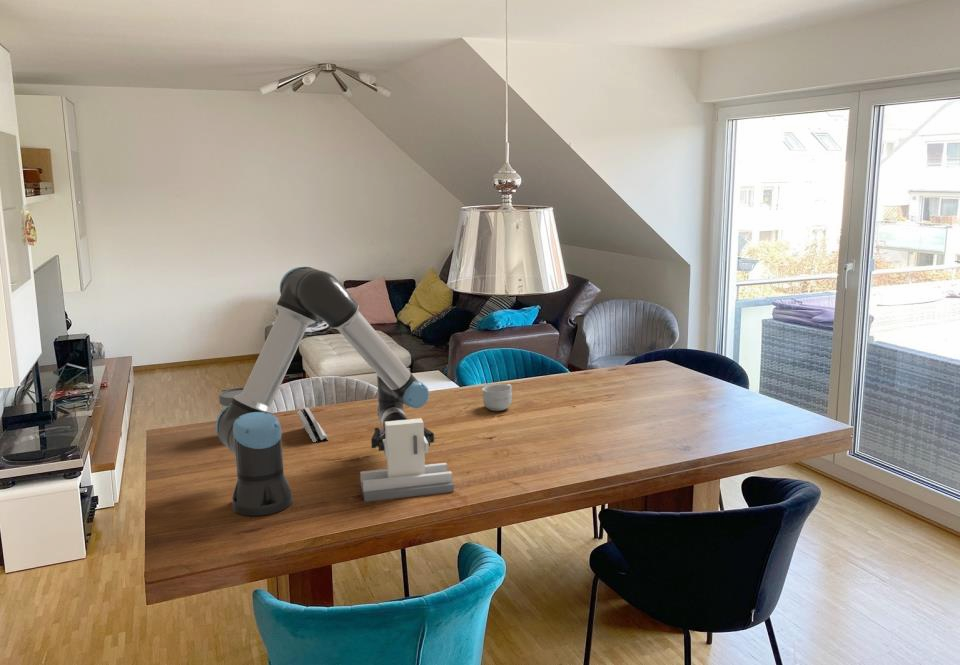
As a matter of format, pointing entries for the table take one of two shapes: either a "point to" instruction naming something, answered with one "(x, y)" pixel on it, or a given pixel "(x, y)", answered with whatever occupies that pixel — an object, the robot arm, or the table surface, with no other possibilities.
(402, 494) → the track
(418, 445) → the door panel
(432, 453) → the table surface
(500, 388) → the teacup
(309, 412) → the white and black console
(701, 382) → the table surface
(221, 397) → the reusable coffee cup
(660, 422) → the table surface
